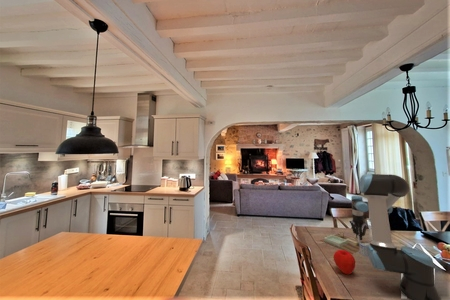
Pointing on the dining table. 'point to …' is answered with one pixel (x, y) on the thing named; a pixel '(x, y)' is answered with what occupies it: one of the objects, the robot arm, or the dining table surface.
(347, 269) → the apple
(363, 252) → the medicine box
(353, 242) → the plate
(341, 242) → the tray
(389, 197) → the robot arm
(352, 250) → the bench board
